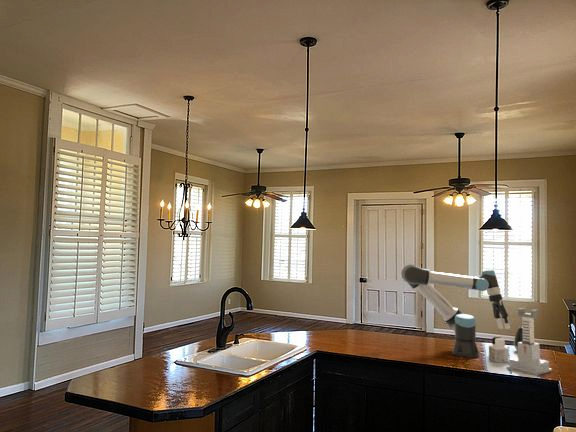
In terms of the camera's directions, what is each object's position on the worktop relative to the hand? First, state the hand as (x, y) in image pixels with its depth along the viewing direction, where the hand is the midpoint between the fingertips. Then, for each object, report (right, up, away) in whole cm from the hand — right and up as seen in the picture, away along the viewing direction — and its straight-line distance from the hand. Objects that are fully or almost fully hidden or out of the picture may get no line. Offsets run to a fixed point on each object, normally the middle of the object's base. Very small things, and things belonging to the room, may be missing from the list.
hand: (504, 329), depth 281 cm
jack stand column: (-5, -11, -37) cm, 39 cm away
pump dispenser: (+14, -15, +4) cm, 21 cm away
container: (-12, -14, -19) cm, 26 cm away
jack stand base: (-5, -13, -37) cm, 40 cm away
